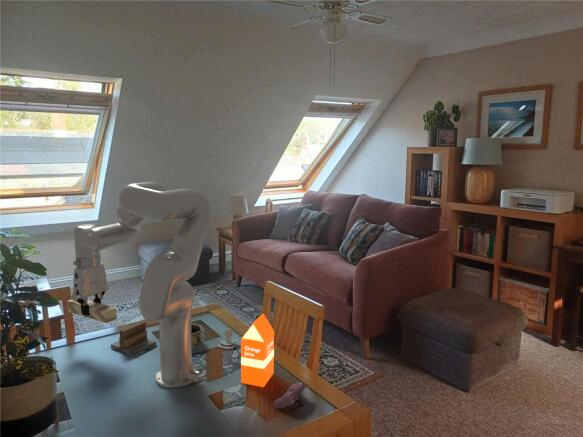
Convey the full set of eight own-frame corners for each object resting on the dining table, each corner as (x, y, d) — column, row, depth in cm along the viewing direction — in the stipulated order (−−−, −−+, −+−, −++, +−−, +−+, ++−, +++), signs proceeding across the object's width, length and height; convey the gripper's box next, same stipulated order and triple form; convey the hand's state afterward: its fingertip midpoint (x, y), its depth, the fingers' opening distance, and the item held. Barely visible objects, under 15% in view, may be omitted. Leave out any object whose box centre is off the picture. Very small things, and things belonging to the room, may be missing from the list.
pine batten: (116, 319, 147) (116, 307, 146) (106, 323, 143) (106, 311, 143) (78, 308, 156) (77, 297, 156) (68, 311, 153) (67, 300, 152)
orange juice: (240, 382, 135) (240, 321, 132) (251, 369, 144) (252, 311, 140) (264, 387, 133) (264, 325, 130) (274, 373, 141) (275, 314, 138)
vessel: (210, 344, 161) (210, 328, 160) (193, 353, 154) (193, 336, 153) (187, 336, 167) (187, 320, 166) (170, 344, 160) (169, 328, 159)
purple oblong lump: (283, 417, 121) (293, 400, 119) (271, 405, 123) (281, 388, 120) (301, 400, 130) (311, 383, 127) (289, 389, 131) (299, 373, 129)
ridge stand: (156, 345, 159) (155, 324, 158) (134, 356, 150) (133, 334, 149) (133, 337, 165) (132, 317, 163) (110, 348, 156) (109, 327, 155)
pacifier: (232, 351, 156) (239, 344, 162) (232, 335, 155) (239, 328, 161) (214, 348, 158) (222, 340, 164) (214, 332, 157) (221, 325, 163)
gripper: (72, 268, 138) (76, 323, 141) (116, 257, 152) (119, 307, 155) (58, 265, 141) (62, 319, 144) (102, 254, 156) (105, 303, 159)
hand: (91, 312), depth 150 cm, fingers closed on pine batten, 4 cm apart
